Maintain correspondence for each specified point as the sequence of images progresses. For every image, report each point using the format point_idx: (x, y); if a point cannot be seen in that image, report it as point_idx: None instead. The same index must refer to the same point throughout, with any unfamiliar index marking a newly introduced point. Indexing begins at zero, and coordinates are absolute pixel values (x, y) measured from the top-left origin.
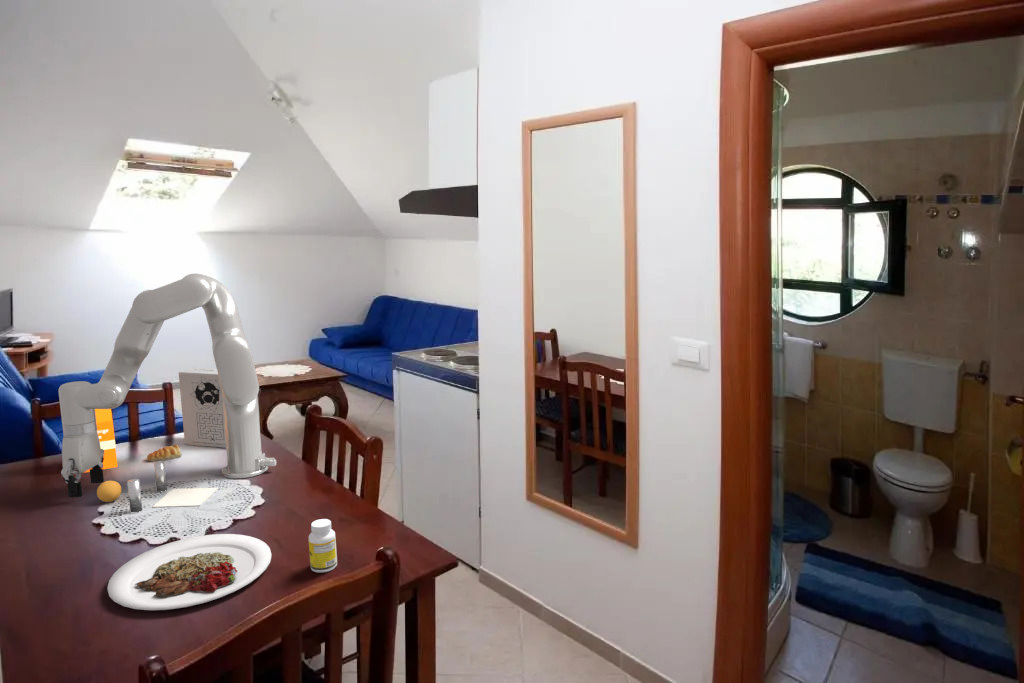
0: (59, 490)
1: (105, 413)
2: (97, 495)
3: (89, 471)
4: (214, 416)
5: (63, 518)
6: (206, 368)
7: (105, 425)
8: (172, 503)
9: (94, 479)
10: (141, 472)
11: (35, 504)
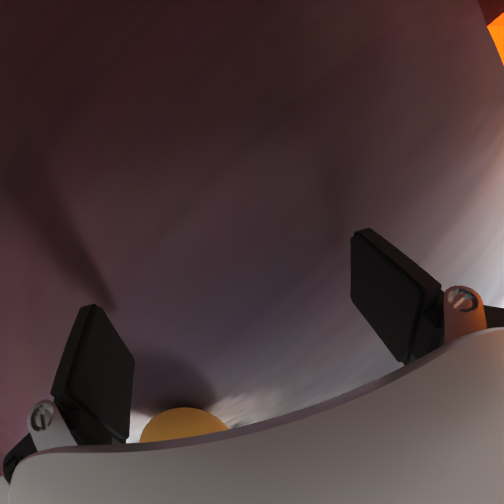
0: (276, 8)
1: None
2: (141, 437)
3: (497, 48)
4: None
5: (11, 374)
6: None
7: None
8: None
9: (365, 273)
10: (475, 276)
11: (15, 87)
